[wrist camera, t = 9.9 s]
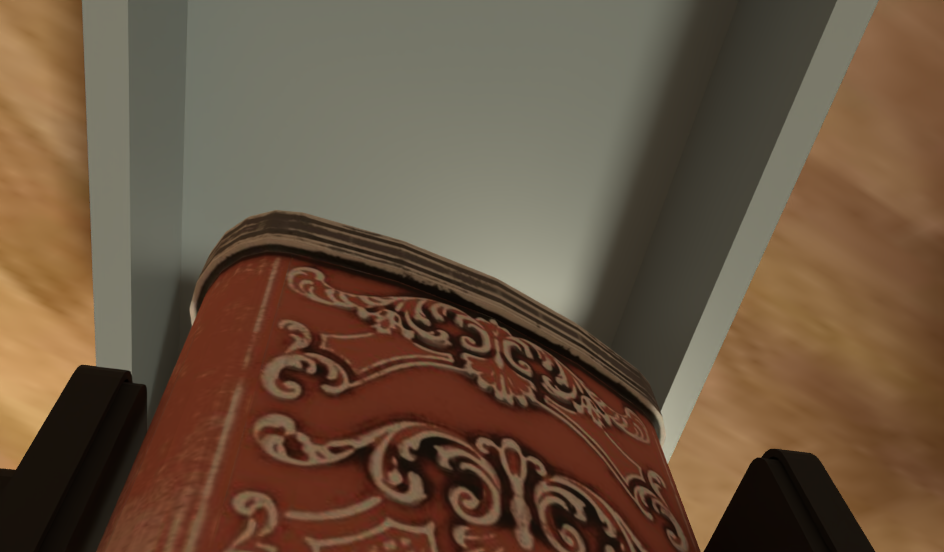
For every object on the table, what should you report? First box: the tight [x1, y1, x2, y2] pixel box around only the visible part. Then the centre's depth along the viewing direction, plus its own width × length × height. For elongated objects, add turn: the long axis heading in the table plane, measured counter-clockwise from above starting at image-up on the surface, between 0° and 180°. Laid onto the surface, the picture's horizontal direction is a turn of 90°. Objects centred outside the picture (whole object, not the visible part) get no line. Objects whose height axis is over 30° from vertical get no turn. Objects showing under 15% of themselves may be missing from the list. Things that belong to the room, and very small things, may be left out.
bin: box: [82, 0, 879, 464], centre depth 19 cm, size 19×15×5 cm
